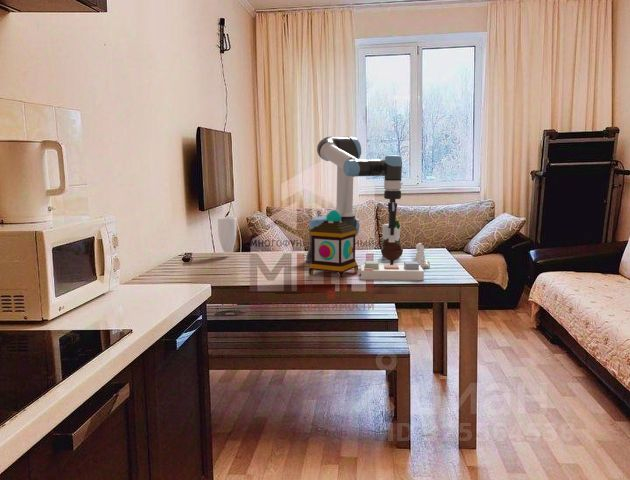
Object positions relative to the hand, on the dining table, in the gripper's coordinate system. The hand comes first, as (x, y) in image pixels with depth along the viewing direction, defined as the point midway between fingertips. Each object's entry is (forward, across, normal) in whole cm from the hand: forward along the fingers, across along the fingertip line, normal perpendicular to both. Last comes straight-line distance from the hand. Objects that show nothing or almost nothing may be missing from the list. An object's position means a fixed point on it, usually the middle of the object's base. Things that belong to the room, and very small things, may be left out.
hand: (391, 242), depth 258 cm
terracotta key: (+16, 0, 0) cm, 16 cm away
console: (+16, 0, 0) cm, 16 cm away
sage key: (+14, 0, +9) cm, 17 cm away
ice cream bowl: (+16, +19, -2) cm, 25 cm away
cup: (+17, +50, +86) cm, 101 cm away
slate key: (+14, 0, -9) cm, 17 cm away
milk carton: (+16, +53, -4) cm, 55 cm away
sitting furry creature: (+16, +25, -17) cm, 34 cm away
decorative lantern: (+16, +5, +26) cm, 31 cm away
